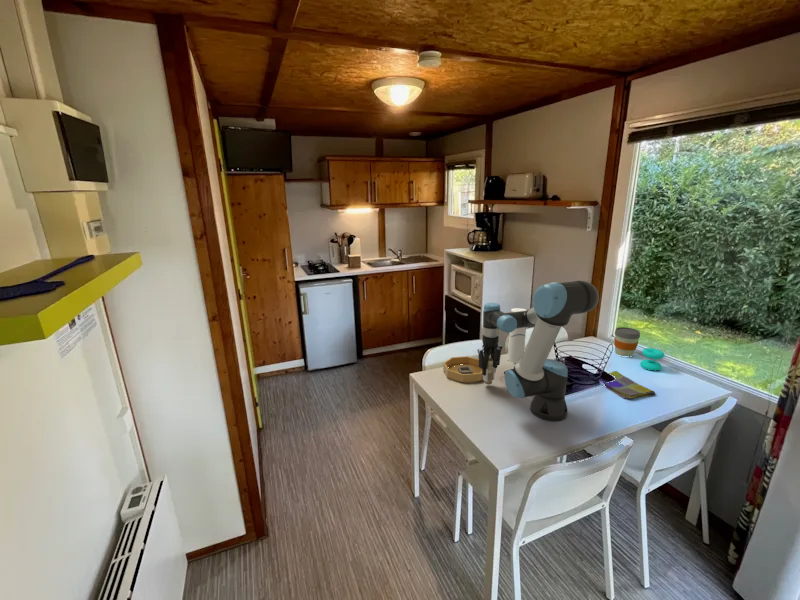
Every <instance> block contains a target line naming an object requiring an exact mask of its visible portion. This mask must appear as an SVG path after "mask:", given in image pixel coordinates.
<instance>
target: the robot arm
mask: <svg viewBox="0 0 800 600" xmlns="http://www.w3.org/2000/svg"><path fill="white" fill-rule="evenodd" d="M599 297H600V295H599V292H598V289H597V288H596V286H595V285H593V284H592V283H591V282H589V281H586V280H574V281H563V282H549V283H546V284H545V283H544V284H542V285H540V286H538V288H537V290H536V291H535V293H534V295H533V299H532V303H533V304H532V306H533V307H531V308H529V309H526V311H520V312H511V311H510V312H504V311H501V305H500V304H499V303H496V302H487V303H485V304H484V305H483V313H482V315H483V317H482V322H483V323H482V340H481V341H482V346H481V348H480V349H479V348H478V349H477V353H478V359H479V367H480V368H481V369H482V375H483V380H482V381H484V383H485V382H488V369H487V365H488V360H489V357H492V358H493V373H492V381H495V373H496V372H497V371H496V369H498V366H500V362H501V354H502V353H501V352H502V349H503V346H502V345H500V344H499V339H500V336H499V335H500V331H502V332H504V333H506V334H508V333H509V334H510V332H512V331H514V330H515V329H517V328H524V327H526V328H533V329H532V331H531V334H530V336H529V340H528V342H527V344H526V345H525V346H526V347H525V348H524V354H523V356H522V359H521V360H518V361H517V362H516V364H515V363H514V367H513V368H511V369H508V370H506V371H505V373H504V383H505V384H504V385H505V387H506V389H507V391H508V393H509V394H510V395H511V397H514V398H516V399H519V398H522V399H524V398H526V397H527V398H528V397H532V396H533V397H532V399H531V401H530V407H529V410H530V412H531V413H532V414H533V415H534V416H535V417H537V418H539V419H542V420H545V421H551V422H559V421H560V422H561V421H563V420H565V419H566V418H567V417H568V413H569V411H568V405H567V402H566V390H567V383H568V377H569V375H568V373H569V372H568V371H569V370H568V366H567V365H565V364H564V363H562V362H560V361H558V360H556V359H549V358H548V357H549V355H550V352H551V350H552V349H553V346H554V344H555V342H556V339H557V337H558V335H559V333H560V330H561V329H562V327H565V326H567V325H568V324H569V322H570V319H571V318H572V316H573V315H580V314H584V313H589V312H590V311H593V310H594V309H595V308H596V307H597V305H598V303H599V300H600V298H599Z"/></svg>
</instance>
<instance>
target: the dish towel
mask: <svg viewBox="0 0 800 600" xmlns="http://www.w3.org/2000/svg"><path fill="white" fill-rule="evenodd" d="M608 373H609V374H611V375H613V376H615V378H616V379H615V381H613V382H609V383H606V382H604V381H603V383H604V384H605V386H606V387H605V388H606V389H607V390H609V391H611V392H612V393H614V394H615V395H617V396H619V397H620V398H623V399H624V400H630V399H637V398H645V397H652V395H653V396H656V392H655V390H652V389H649V388H648V387H645V386H643V385H641V384H639V383H637V382H635V381H633V380H632V379H630V378H629V377H627V376H625V375H623V374H622V373H620V372H619V371H618V370H613V371H611V372H608Z"/></svg>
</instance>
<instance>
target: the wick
mask: <svg viewBox="0 0 800 600" xmlns="http://www.w3.org/2000/svg"><path fill="white" fill-rule="evenodd" d="M487 369H488V382H485V381H484V384H486V385H492V383H493V380H492V373H493V358H492V357H491V356H489V360H488V365H487Z"/></svg>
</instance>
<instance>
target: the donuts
mask: <svg viewBox="0 0 800 600" xmlns="http://www.w3.org/2000/svg"><path fill="white" fill-rule="evenodd" d="M641 353H642V355H643V356H644V357H645V358H647V359H643V360H641V361H640V362H639V366H640V367H641V368H642V367H643V368H642V369H644V368H645V370H646V369H648V370H647V371H650V370H655V371H654V372H657V371H656V370H660V371H661V370H662V369H663V365H662V364H661V363H660V362H659V361H656V360H662V359H664V357H665V353H664V352H663V351H662V350H660V349H657V348H652V347H651V348H650V347H646V348H644V349H642V351H641Z"/></svg>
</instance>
